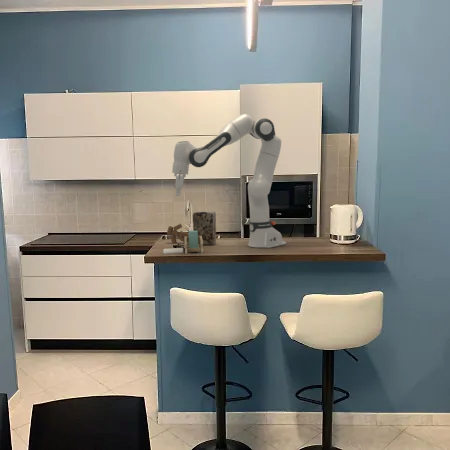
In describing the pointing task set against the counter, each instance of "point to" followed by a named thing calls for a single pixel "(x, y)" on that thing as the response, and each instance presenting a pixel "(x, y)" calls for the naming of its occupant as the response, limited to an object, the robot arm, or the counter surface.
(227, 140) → the robot arm
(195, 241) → the block
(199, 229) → the stone block
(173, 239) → the figurine
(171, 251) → the mat
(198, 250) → the channel
